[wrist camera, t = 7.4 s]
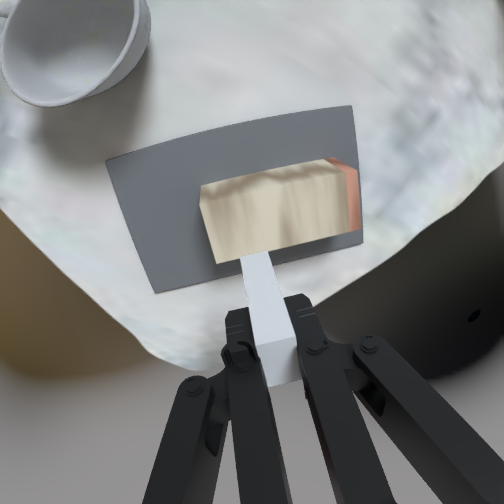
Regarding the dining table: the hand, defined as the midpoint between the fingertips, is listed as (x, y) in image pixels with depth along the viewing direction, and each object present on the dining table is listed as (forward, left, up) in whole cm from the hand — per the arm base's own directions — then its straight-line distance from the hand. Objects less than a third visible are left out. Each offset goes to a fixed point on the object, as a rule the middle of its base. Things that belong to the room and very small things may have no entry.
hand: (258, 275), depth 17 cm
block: (+3, 0, -9) cm, 10 cm away
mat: (-1, 0, -12) cm, 12 cm away
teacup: (+9, -19, -13) cm, 24 cm away
